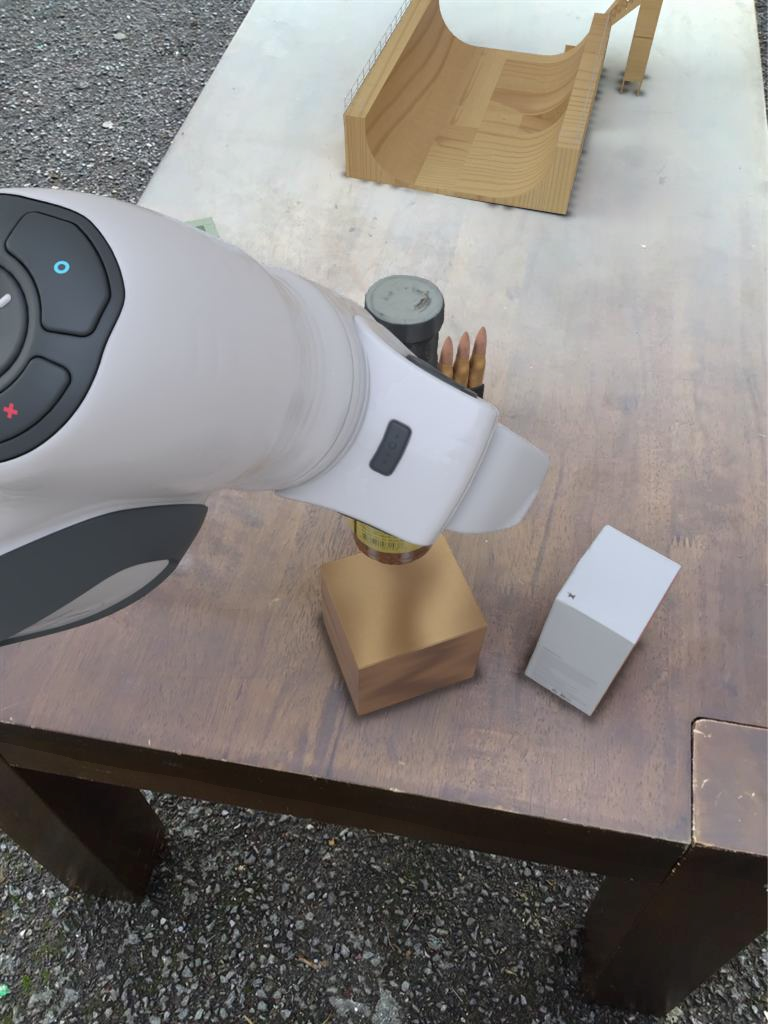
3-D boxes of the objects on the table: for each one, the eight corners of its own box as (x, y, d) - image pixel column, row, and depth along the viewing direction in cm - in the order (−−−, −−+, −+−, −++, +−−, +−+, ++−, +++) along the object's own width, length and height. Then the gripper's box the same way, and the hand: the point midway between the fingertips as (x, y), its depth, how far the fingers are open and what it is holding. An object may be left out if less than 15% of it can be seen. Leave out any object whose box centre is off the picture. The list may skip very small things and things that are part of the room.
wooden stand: (358, 718, 65) (358, 667, 57) (323, 623, 70) (319, 564, 62) (473, 678, 67) (488, 625, 59) (431, 589, 72) (440, 529, 64)
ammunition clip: (472, 407, 85) (487, 317, 75) (480, 419, 84) (497, 330, 74) (378, 437, 82) (381, 348, 72) (385, 450, 81) (389, 361, 71)
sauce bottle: (455, 546, 56) (501, 321, 40) (376, 584, 54) (391, 364, 38) (405, 480, 59) (429, 247, 43) (329, 514, 57) (324, 283, 41)
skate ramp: (419, 49, 131) (423, -67, 118) (642, 78, 126) (672, -40, 113) (346, 185, 109) (341, 60, 96) (613, 229, 103) (647, 102, 90)
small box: (590, 719, 65) (635, 646, 55) (521, 675, 67) (552, 597, 57) (634, 645, 69) (684, 564, 59) (567, 606, 71) (604, 521, 61)
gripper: (91, 352, 39) (248, 381, 51) (454, 569, 32) (531, 542, 45) (139, 225, 37) (288, 288, 50) (530, 426, 31) (587, 439, 43)
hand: (406, 409), depth 47 cm, fingers closed on sauce bottle, 6 cm apart
